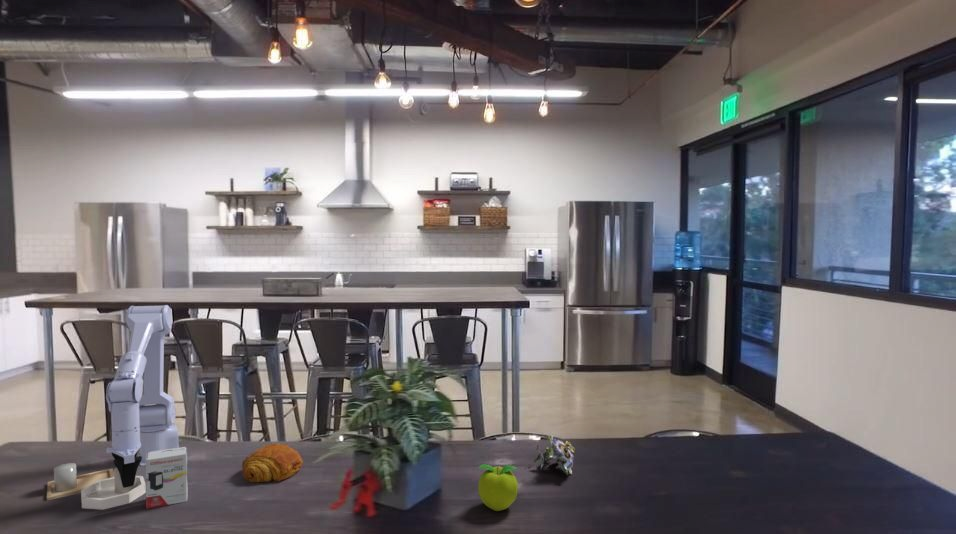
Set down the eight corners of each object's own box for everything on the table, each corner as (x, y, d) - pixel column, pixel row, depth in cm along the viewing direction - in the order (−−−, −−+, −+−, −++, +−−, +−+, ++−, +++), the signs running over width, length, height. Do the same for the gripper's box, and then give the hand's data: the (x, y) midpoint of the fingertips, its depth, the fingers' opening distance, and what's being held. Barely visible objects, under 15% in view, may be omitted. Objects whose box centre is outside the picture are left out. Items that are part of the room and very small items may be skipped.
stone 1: (76, 482, 137) (75, 461, 137) (77, 488, 134) (76, 467, 133) (54, 487, 134) (53, 466, 134) (54, 493, 131) (53, 472, 131)
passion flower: (568, 493, 145) (577, 469, 138) (528, 483, 146) (535, 459, 139) (571, 456, 154) (579, 432, 146) (533, 448, 155) (540, 423, 148)
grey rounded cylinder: (136, 483, 135) (135, 462, 134) (136, 490, 131) (135, 468, 131) (115, 487, 132) (114, 466, 132) (114, 495, 129) (113, 472, 128)
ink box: (145, 509, 125) (144, 459, 124) (147, 500, 129) (145, 452, 128) (187, 501, 128) (186, 453, 128) (187, 493, 133) (186, 446, 132)
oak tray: (112, 471, 144) (112, 468, 144) (115, 486, 136) (115, 482, 136) (47, 485, 136) (47, 481, 136) (46, 502, 128) (46, 497, 128)
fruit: (478, 498, 131) (478, 457, 130) (516, 498, 131) (516, 458, 130) (476, 517, 122) (477, 474, 121) (518, 518, 122) (518, 475, 121)
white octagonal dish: (141, 481, 139) (141, 471, 139) (147, 499, 129) (147, 489, 129) (80, 494, 131) (80, 484, 131) (82, 516, 121) (82, 504, 121)
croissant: (232, 487, 141) (228, 458, 140) (275, 456, 155) (271, 431, 154) (275, 495, 136) (271, 466, 134) (315, 463, 150) (312, 437, 148)
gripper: (104, 423, 134) (105, 476, 135) (107, 440, 123) (109, 498, 124) (137, 417, 139) (138, 469, 139) (144, 433, 127) (145, 490, 128)
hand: (127, 482), depth 132 cm, fingers closed on grey rounded cylinder, 4 cm apart
